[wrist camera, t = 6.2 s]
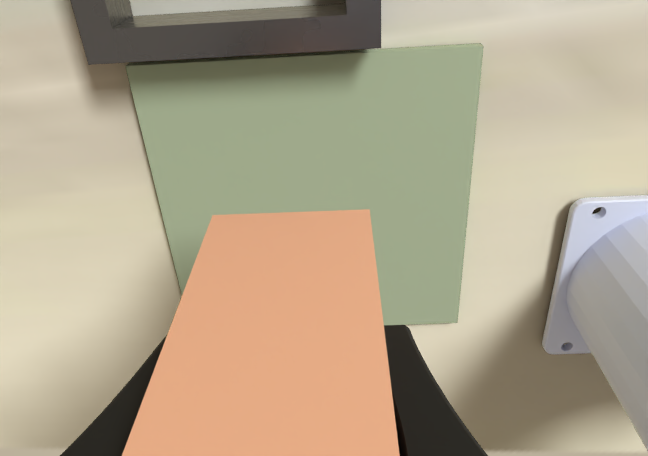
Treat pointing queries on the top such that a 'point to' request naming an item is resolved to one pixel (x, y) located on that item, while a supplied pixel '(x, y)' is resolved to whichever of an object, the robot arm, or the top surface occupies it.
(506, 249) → the top surface
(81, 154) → the top surface
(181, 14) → the metal collar
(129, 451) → the peg
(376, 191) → the rubber mat
